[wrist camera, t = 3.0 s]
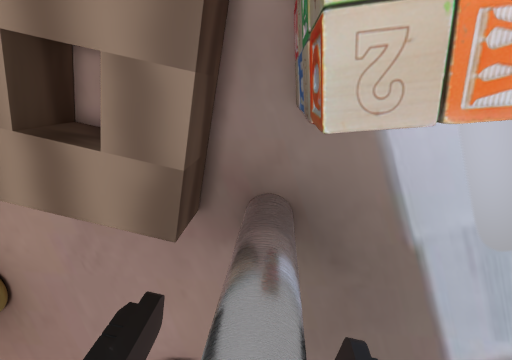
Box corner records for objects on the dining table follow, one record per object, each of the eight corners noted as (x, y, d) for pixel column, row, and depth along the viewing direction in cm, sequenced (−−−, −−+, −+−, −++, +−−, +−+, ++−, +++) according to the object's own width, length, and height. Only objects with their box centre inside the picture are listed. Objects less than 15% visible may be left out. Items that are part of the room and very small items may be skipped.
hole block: (230, -9, 16) (209, -49, 12) (198, 209, 22) (175, 242, 17) (-8, -61, 17) (-122, -121, 12) (19, 167, 22) (-51, 188, 17)
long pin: (298, 199, 21) (328, 391, 7) (286, 241, 22) (293, 464, 9) (250, 188, 21) (196, 359, 8) (241, 230, 22) (182, 435, 9)
